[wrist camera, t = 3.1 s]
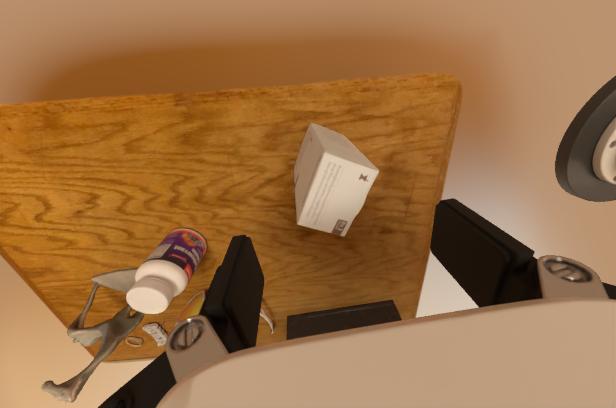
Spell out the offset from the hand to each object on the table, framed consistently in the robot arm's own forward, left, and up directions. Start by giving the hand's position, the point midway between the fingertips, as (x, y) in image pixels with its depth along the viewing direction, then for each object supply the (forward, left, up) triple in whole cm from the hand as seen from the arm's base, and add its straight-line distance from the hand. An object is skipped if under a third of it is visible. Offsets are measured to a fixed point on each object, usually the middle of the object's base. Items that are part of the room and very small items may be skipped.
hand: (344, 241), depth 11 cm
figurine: (+31, +15, -17) cm, 38 cm away
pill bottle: (+20, +9, -17) cm, 28 cm away
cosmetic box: (0, 0, -17) cm, 17 cm away
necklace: (+32, +27, -17) cm, 45 cm away
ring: (+38, +28, -17) cm, 50 cm away
